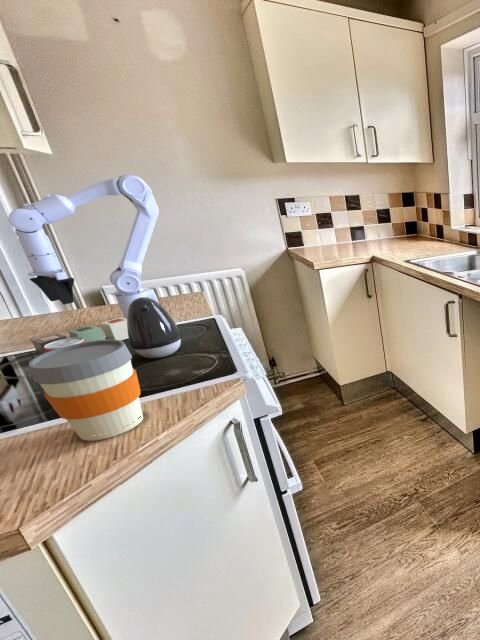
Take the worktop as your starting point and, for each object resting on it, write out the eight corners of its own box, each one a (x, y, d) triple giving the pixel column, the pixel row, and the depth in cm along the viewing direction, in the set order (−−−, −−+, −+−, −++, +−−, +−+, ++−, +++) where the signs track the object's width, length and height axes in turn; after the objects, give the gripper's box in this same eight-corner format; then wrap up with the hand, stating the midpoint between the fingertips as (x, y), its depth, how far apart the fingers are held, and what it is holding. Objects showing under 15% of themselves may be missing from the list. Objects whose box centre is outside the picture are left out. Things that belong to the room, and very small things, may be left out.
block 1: (65, 350, 111) (57, 333, 110) (74, 354, 109) (66, 336, 108) (40, 358, 107) (31, 340, 105) (49, 361, 105) (39, 343, 103)
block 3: (128, 333, 123) (121, 316, 121) (137, 335, 121) (130, 319, 119) (106, 339, 119) (99, 322, 117) (116, 342, 117) (109, 324, 115)
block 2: (98, 341, 117) (91, 324, 115) (107, 344, 115) (100, 327, 113) (75, 348, 113) (67, 330, 111) (84, 351, 111) (76, 333, 109)
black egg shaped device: (137, 366, 102) (113, 307, 96) (135, 353, 109) (113, 297, 103) (188, 354, 108) (168, 297, 102) (183, 343, 115) (165, 289, 109)
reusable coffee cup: (171, 411, 83) (144, 341, 77) (101, 451, 71) (63, 372, 65) (122, 405, 85) (92, 336, 79) (46, 442, 74) (5, 365, 68)
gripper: (9, 255, 115) (31, 302, 120) (32, 259, 109) (55, 308, 114) (43, 250, 121) (64, 296, 126) (67, 254, 115) (88, 301, 120)
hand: (62, 301), depth 121 cm, fingers open, 7 cm apart
